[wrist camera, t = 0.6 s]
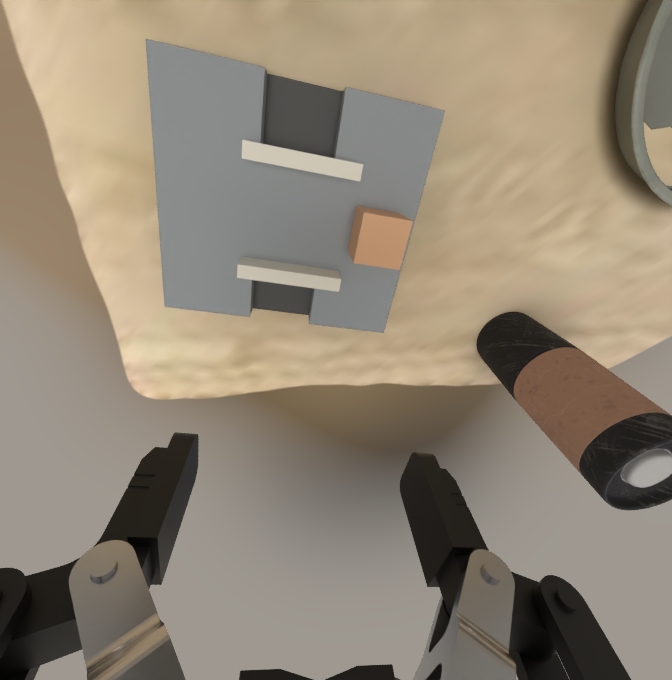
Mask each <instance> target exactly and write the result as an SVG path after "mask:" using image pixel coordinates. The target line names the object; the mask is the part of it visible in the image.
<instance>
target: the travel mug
mask: <svg viewBox="0 0 672 680" xmlns="http://www.w3.org/2000/svg"><path fill="white" fill-rule="evenodd" d="M477 350H478V353H479V354H480V356H481V358H482V359H483V360H484V361H485V363H486V364H487V365H488V366H489V368H490V369H491V370H492V371H493V373H494V374H495V375H496V376H497V378H498V379H499V380H500V381H501V383H502V384H503V385H504V386H505V388H506V389H507V390H508V391H509V393H510V394H511V395H512V396H513V398H514V399H515V400H516V401H517V402H518V403H519V405H520V406H521V407H522V408H523V409H524V410H525V412H526V413H527V414H528V415H529V416H530V417H531V418H532V419H533V421H535V423H536V424H537V425H538V426H539V427H540V428H541V430H542V431H543V432H544V433H545V434H546V435H547V436H548V437H549V438H550V440H551V441H552V442H553V443H554V444H555V445H556V446H557V448H558V449H559V450H560V451H561V452H562V453H563V454H564V455H565V457H566V458H567V459H568V460H569V461H570V462H571V463H572V464H573V466H574V467H575V468H576V469H577V470H578V471H579V472H580V473H581V475H582V476H583V477H584V478H585V479H586V480H587V481H588V482H589V484H590V485H591V486H592V487H593V488H594V489H595V490H596V491H597V493H598V494H599V495H600V496H601V497H602V498H603V499H604V500H605V501H606V502H607V503H608V504H609V505H611V506H612V507H615V508H617V509H621V510H639V509H645V508H649V507H653V506H656V505H659V504H662V503H665V502H667V501H669V500H671V499H672V415H670V414H669V413H667V412H666V411H665V410H663V409H662V408H660V407H659V406H658V405H656V404H655V403H653V402H652V401H651V400H649V399H648V398H647V397H645V396H644V395H642V394H641V393H640V392H638V391H637V390H635V389H634V388H632V387H631V386H630V385H628V384H627V383H626V382H624V381H623V380H622V379H620V378H618V377H617V376H616V375H615V374H613V373H612V372H610V371H609V370H608V369H606V368H605V367H604V366H602V365H601V364H599V363H598V362H597V361H595V360H594V359H592V358H591V357H590V356H588V355H587V354H586V353H584V352H583V351H581V350H580V349H578V348H577V347H575V346H574V345H572V344H571V343H569V342H567V341H566V340H564V339H563V338H561V337H560V336H558V335H557V334H555V333H554V332H552V331H551V330H549V329H547V328H546V327H544V326H543V325H541V324H540V323H538V322H537V321H535V320H534V319H532V318H530V317H529V316H527V315H525V314H522V313H518V312H509V313H504V314H501V315H499V316H497V317H495V318H494V319H492V320H491V321H489V322H488V323H487V324H486V325H485V326H484V328H483V329H482V330H481V332H480V334H479V336H478V340H477Z"/></svg>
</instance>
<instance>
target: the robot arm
mask: <svg viewBox="0 0 672 680" xmlns="http://www.w3.org/2000/svg"><path fill="white" fill-rule="evenodd" d="M197 469H198V434H188V433H174V435H173V437H172V439H171V441H170V443H169V446H168V448H159V447H155V448H154V449H153V450H151V452H149V453H148V454H147V455H146V456H145V457H144V458H143V459H142V460H141V462H140V464H139V466H138V468H137V470H136V472H135V474H134V477H133V478H132V479H131V481H130V483H129V485H128V488H127V489H126V491H125V493H124V495H123V497H122V499H121V500H120V502H119V505H118V506H117V508H116V510H115V512H114V514H113V516H112V518H111V520H110V522H109V524H108V525H107V527H106V529H105V531H104V533H103V535H102V537H101V538H100V540H99V541H98V542H97V544H96V545H95V546H94V547H93V548H91V549H90V550H88V551H87V552H86V553H85V554H84V555H83V556H81V557H80V558H79V559H77V560H75V561H73V562H71V563H69V564H66V565H63V566H60V567H57V568H53V569H50V570H46V571H43V572H40V573H35V574H32V575H28V576H24V574H23V573H22V572H21V571H20V570H18V569H14V568H1V569H0V680H34V678H35V675H36V673H37V671H38V669H39V667H40V665H42V664H45V663H47V662H50V661H53V660H55V659H58V658H60V657H63V656H66V655H68V654H71V653H74V652H76V651H79V650H81V649H83V654H84V659H85V663H86V669H87V680H185V677H184V674H183V671H182V669H181V666H180V663H179V661H178V658H177V656H176V653H175V650H174V647H173V645H172V642H171V639H170V637H169V634H168V632H167V629H166V627H165V625H164V623H163V622H161V620H160V618H159V616H158V613H157V611H156V608H155V605H154V602H153V600H152V597H151V594H150V591H149V588H150V585H152V584H155V585H157V584H159V585H161V584H162V581H163V578H164V574H165V572H166V569H167V566H168V562H169V559H170V556H171V553H172V550H173V547H174V544H175V541H176V538H177V535H178V532H179V528H180V525H181V522H182V519H183V516H184V513H185V510H186V507H187V504H188V501H189V498H190V495H191V492H192V488H193V485H194V482H195V478H196V474H197ZM400 492H401V497H402V500H403V504H404V507H405V511H406V514H407V517H408V521H409V524H410V527H411V531H412V535H413V538H414V542H415V545H416V549H417V552H418V555H419V559H420V562H421V566H422V569H423V572H424V576H425V580H426V583H427V587H440V590H441V594H442V596H441V598H440V600H439V603H438V607H437V610H436V614H435V617H434V621H433V624H432V628H431V631H430V634H429V638H428V641H427V645H426V648H425V651H424V655H423V658H422V660H421V663H420V665H419V667H418V669H417V671H416V673H415V676H414V678H413V680H516V674H517V677H518V680H569V678H570V680H631V679H630V677H629V675H628V674H627V672H626V670H625V668H624V667H623V665H622V663H621V661H620V660H619V658H618V656H617V655H616V653H615V651H614V649H613V648H612V646H611V644H610V643H609V641H608V639H607V638H606V636H605V634H604V632H603V631H602V629H601V627H600V626H599V624H598V622H597V620H596V619H595V617H594V615H593V614H592V612H591V610H590V609H589V607H588V605H587V603H586V602H585V601H584V599H583V597H582V596H581V595H580V594H579V592H578V591H577V590H576V589H575V588H574V587H573V586H572V585H571V584H569V583H568V582H567V581H565V580H563V579H562V578H560V577H557V576H553V575H548V576H545V577H544V578H543V579H542V580H541V581H540V582H537V581H534V580H531V579H529V578H526V577H523V576H521V575H518V574H515V573H513V572H511V571H510V569H509V568H508V566H507V565H506V564H505V563H504V562H503V561H502V560H501V559H500V558H499V557H498V556H497V555H495V554H494V553H492V552H489V550H488V548H487V546H486V544H485V542H484V540H483V538H482V536H481V534H480V532H479V529H478V527H477V525H476V523H475V521H474V519H473V517H472V514H471V512H470V510H469V508H468V507H467V505H466V502H465V500H464V497H463V496H462V493H461V491H460V489H459V487H458V485H457V482H456V480H455V479H454V478H453V477H452V476H451V475H450V473H449V472H448V471H447V470H446V469H441V468H440V467H439V464H438V462H437V460H436V458H435V456H434V455H433V454H429V453H417V452H414V453H412V454H411V456H410V459H409V461H408V463H407V466H406V468H405V470H404V472H403V474H402V477H401V480H400ZM557 653H558V654H557ZM509 655H510V656H509ZM558 655H559V657H560V659H561V661H560V659H559V657H558ZM561 662H562V663H561ZM562 664H563V665H562ZM563 666H564V668H565V669H564V668H563ZM565 670H566V672H567V674H568V676H569V678H568V676H567V674H566V672H565ZM239 680H312V679H309V678H306V677H303V676H300V675H297V674H294V673H291V672H288V671H284V670H281V669H271V670H248V671H247V670H246V671H240V677H239ZM326 680H400V679H398V678H395V677H394V672H393V666H392V665H368V666H356V667H354V668H351V669H349V670H347V671H345V672H342V673H340V674H337V675H335V676H333V677H330V678H328V679H326Z"/></svg>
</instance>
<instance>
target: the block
mask: <svg viewBox="0 0 672 680" xmlns="http://www.w3.org/2000/svg"><path fill="white" fill-rule="evenodd" d="M412 223H413V221H412V220H410V219H408V218H407V217H405V216H403V215H402V214H400V213H395V212H390V211H384V210H379V209H373V208H368V207H362V206H356V211H355V216H354V221H353V226H352V232H351V237H350V242H349V247H348V252H349V254H350V257H351V259H352V261H353V263H356V264H363V265H369V266H376V267H382V268H389V269H396V270H400V267H401V263H402V259H403V256H404V252H405V248H406V245H407V241H408V238H409V234H410V230H411V227H412Z"/></svg>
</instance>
